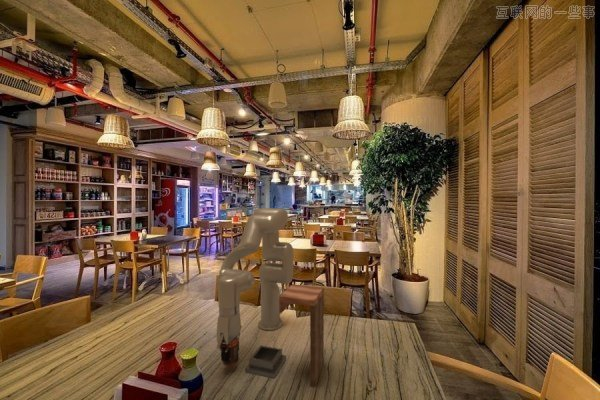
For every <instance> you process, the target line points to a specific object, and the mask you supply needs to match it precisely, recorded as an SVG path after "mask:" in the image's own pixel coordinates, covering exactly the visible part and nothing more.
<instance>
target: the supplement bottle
mask: <svg viewBox="0 0 600 400" xmlns="http://www.w3.org/2000/svg"><path fill="white" fill-rule="evenodd" d="M238 341H239V340H238V338H237V337H235V338H234V339H233V340H232V341H231V342H230V343H229V348H228V351H229V358H230V361H229V362H225V361H222V364H223V365H224V366H226V367H233V366H235V365H237V364H238V362H239V351H238ZM224 342H226V341H225V340H224ZM223 347H225V348H226V344H224V346H223Z"/></svg>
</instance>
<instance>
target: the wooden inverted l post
mask: <svg viewBox="0 0 600 400" xmlns="http://www.w3.org/2000/svg"><path fill="white" fill-rule="evenodd" d="M324 297H325V296H324V287H323V286H313V285H312V286H311V285H305V284H304V285H303V284H293V283H292V284H291V285H290V286H288V288H287V289H285V290H284V292H282V293H281V294H280V296H279V313H281V314H282V313H284V311H285V310H286V309H287V308H288V307H289V306H290V305H291V304H292V305H293V304H294V305H299V306H306V307H307V306H308V307H309V309H310V310H309V315H310V316H309V319H310V321H309V322H310V324H309V326H310V328H309V329H310V331H309V332H310V333H309V335H310V336H309V339H310V346H309V347H310V351H309V352H310V354H309V355H310V358H309V359H310V361H309V362H310V367H309V368H310V370H309V371H310V373H309V375H310V378H309V379H310V388H311V387H312V388H315V387H316V385H317V382H318V379H319V377H320V375H321V371H322V369H323V366H324V363H325V359H324V354H325V353H324V352H325V350H324V349H325V347H324V343H325V342H324V338H325V337H324V335H325V333H324V329H325V326H324V321H325V319H324V313H325V312H324V310H325V308H324V303H325V301H324Z"/></svg>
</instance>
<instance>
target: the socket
mask: <svg viewBox="0 0 600 400" xmlns="http://www.w3.org/2000/svg"><path fill="white" fill-rule="evenodd" d="M248 361H249V362H248V364H247V365H246V366H245V367H244V372H245V373H247V374H251V375H257V376H261V377H266V378H270V379H276V376H277V375H278V374H279V372H280V370H281V368H282V367H283V365H284V364H285V361H287V355H285V354H283V349H282V348H277V347H271V346H266V345H259V346H258V348H257V349H256V350H255V351H254V352H253V353H252V355H251V356H250V357H249V358H248Z"/></svg>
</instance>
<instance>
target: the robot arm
mask: <svg viewBox="0 0 600 400" xmlns="http://www.w3.org/2000/svg"><path fill="white" fill-rule="evenodd" d="M288 219H289V214H288V212H287V210H286V209H284V208H271V207H268V208H267V207H262V208H257V209H255V210H254V211H253V214H251V215H250V216H249V217H248V218H247V221H246V223H245V226H244V230H243V233H242V235H241V239H240V242H239V244H238V245H237V246H236V247H234V248H233V249H232V250H231V251H230V252H229V253H228V254H227V255H226V256H225V258H224V260H223V261H222V264H221V267H220V270H219V274H218V278H217V279H218V283H217V285H218V286H217V287H218V317H217V324H216V343H217V344H216V349H217V350H219V352H220V358H221V359H220V360H221V361H222V362H223V361H225V362H229V361H230V358H229V351H228V348H229V343H230V342H231V341H232V340H233V339H234V338H235V337H237V338H238V352H239V351H240V341H239V340H240V334H241V330H242V323H241V322H242V321H241V313H240V293H241V292H245V291H247V290H249V289H250V288H252V287H253V285H254V283H255V275H254V274H253V272H251V271H249V270H244V269H234V267H235V265H236V263H238V261H240V260H241V259H243V258H245V257H248V256H250V255H252V254H255V253H257V252H258V251H259V250H260V247H261V246H262V247H261V254H262V258H263V259H264V260H267V261H273V262H263V263H262V264H261V265H260V266H259V269H258V278H259V283H260V320H259V321H258V322H257V327H258V328H259V329H261V330H263V331H274V330H278V329H280V328H282V327H283V325H284V321H283V320H282V319H281V316H280V315H281V314H282V313H279V296H280V295H281V294H280V287H279V285H278V284H283V285H287V284H290V283H291V282H292V281H293V277H294V248H293V246H292V244H291V243H290V242H286V241H285V242H284V241H280V230H281V229H282V228H283V227H285V226H286V224H288V223H287V222H288ZM275 261H276V262H275ZM278 262H281V263H278ZM224 340H225V341H226V342H224ZM224 344H226V348H225V347H223V346H224Z"/></svg>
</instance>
